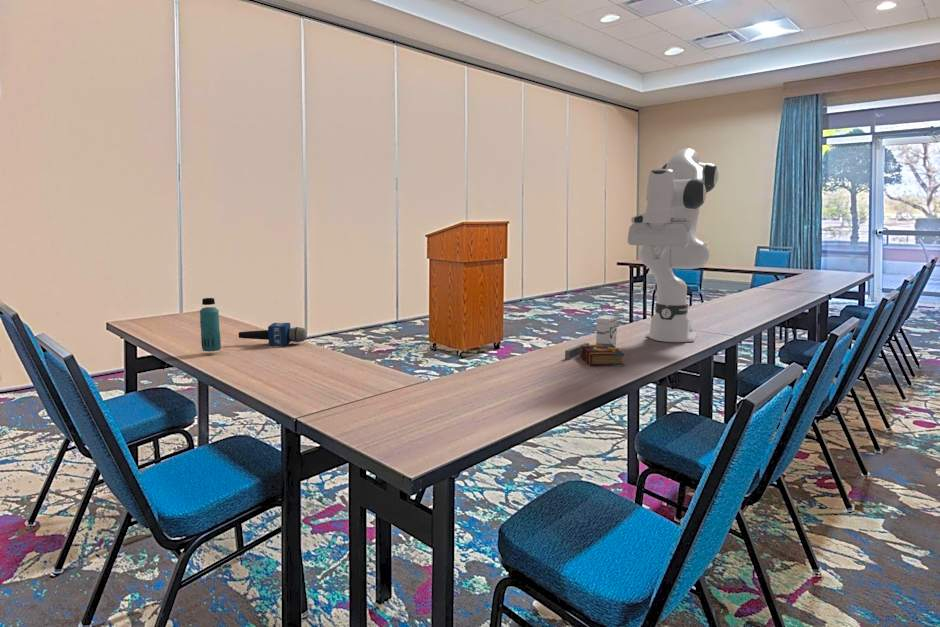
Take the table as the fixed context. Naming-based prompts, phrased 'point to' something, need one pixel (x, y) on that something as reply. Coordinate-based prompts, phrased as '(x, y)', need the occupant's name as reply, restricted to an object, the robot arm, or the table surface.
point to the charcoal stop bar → (574, 351)
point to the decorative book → (602, 355)
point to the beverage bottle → (210, 326)
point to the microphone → (277, 334)
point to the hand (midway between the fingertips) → (657, 259)
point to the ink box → (606, 330)
